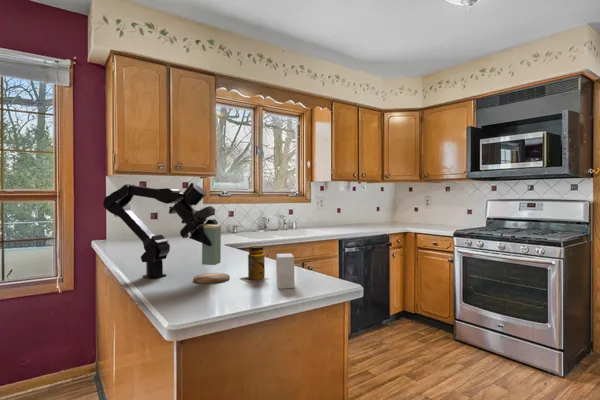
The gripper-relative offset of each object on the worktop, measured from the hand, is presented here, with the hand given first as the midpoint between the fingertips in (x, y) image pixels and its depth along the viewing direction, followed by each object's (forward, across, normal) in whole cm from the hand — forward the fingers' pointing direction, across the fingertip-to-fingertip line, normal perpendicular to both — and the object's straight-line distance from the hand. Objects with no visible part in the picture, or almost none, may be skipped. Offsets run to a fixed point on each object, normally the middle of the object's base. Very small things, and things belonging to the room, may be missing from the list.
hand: (214, 244), depth 132 cm
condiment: (+19, +4, 0) cm, 20 cm away
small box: (+29, -3, -10) cm, 31 cm away
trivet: (+8, 0, +10) cm, 13 cm away
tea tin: (+4, 0, +6) cm, 7 cm away
